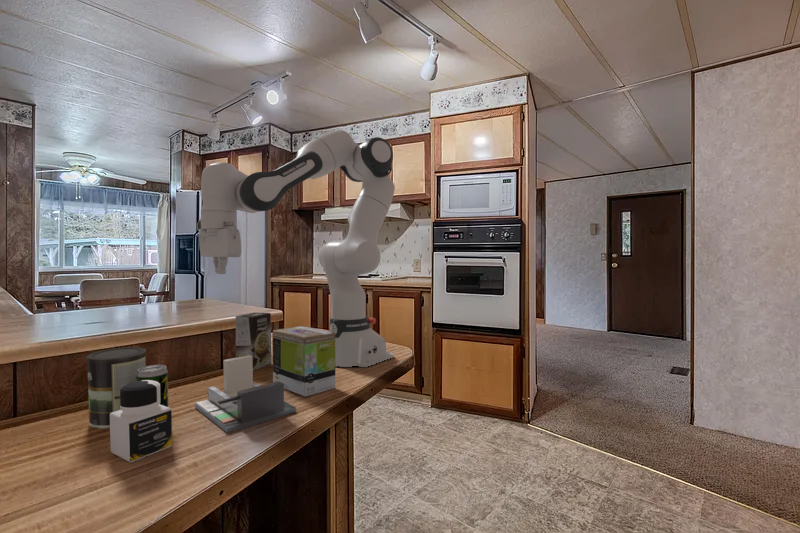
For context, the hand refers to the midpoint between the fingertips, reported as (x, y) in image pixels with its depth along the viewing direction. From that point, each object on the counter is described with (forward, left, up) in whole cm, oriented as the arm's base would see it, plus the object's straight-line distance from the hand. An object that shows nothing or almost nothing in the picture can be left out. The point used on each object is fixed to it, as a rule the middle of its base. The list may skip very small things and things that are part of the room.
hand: (220, 273), depth 113 cm
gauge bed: (+5, +26, -29) cm, 39 cm away
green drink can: (+22, +22, -29) cm, 43 cm away
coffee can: (+26, +12, -29) cm, 41 cm away
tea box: (-13, +21, -29) cm, 38 cm away
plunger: (+7, +26, -28) cm, 39 cm away
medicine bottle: (+26, +31, -29) cm, 50 cm away
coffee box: (-12, -6, -29) cm, 32 cm away
